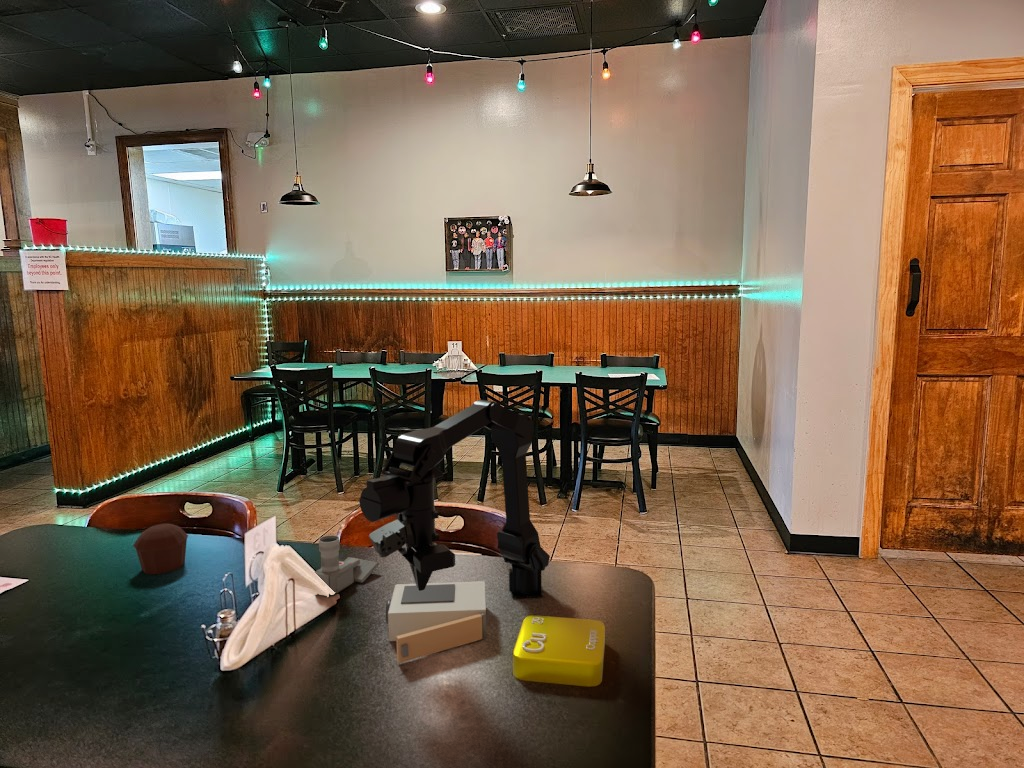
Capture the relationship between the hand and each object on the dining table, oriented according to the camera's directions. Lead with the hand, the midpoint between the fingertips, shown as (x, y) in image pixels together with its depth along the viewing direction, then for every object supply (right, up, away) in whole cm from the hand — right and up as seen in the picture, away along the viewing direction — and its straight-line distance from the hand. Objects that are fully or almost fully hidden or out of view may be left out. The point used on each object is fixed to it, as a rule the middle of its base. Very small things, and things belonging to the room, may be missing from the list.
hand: (420, 589), depth 117 cm
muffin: (-67, -7, +38) cm, 77 cm away
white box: (+2, -10, +11) cm, 15 cm away
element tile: (+25, -12, -2) cm, 28 cm away
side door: (+4, -11, 0) cm, 12 cm away
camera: (-21, -8, +29) cm, 37 cm away
